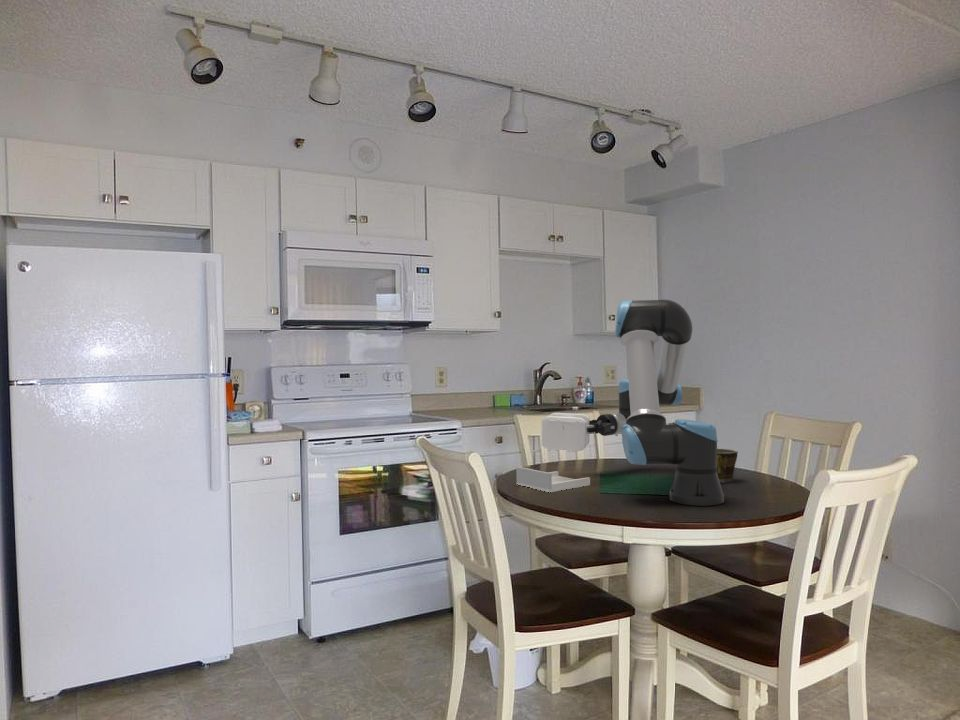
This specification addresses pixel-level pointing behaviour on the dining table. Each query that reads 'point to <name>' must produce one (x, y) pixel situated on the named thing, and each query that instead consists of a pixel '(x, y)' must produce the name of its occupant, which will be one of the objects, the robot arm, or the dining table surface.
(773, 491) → the dining table surface
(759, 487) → the dining table surface
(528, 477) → the tray
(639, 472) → the dining table surface
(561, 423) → the cable organizer
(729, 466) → the ceramic cup
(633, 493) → the dining table surface
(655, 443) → the robot arm
